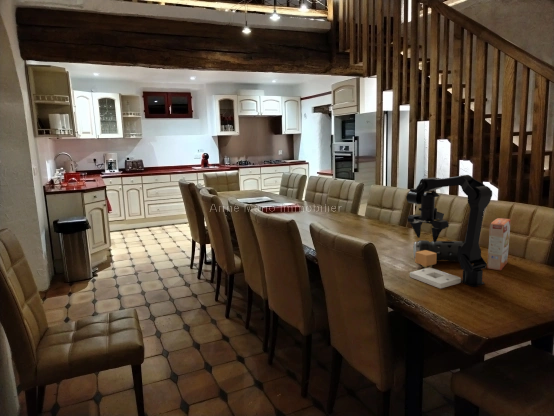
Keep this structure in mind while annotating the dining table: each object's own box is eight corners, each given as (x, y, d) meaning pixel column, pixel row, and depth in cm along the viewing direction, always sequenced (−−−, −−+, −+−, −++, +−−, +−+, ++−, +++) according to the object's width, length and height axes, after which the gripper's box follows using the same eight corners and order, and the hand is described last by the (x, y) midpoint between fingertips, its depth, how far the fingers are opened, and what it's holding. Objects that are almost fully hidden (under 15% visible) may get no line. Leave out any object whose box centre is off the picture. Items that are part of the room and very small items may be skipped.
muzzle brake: (479, 265, 178) (481, 243, 176) (416, 264, 183) (416, 243, 181) (473, 259, 187) (474, 238, 185) (412, 258, 192) (413, 238, 190)
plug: (436, 268, 176) (436, 253, 175) (426, 270, 173) (426, 255, 172) (425, 264, 182) (425, 249, 181) (415, 266, 179) (415, 252, 178)
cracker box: (502, 271, 169) (504, 224, 165) (486, 268, 173) (489, 223, 169) (508, 262, 179) (511, 218, 176) (494, 260, 183) (496, 217, 179)
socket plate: (461, 282, 158) (461, 277, 157) (440, 288, 153) (440, 283, 152) (429, 271, 172) (429, 266, 172) (409, 276, 167) (409, 271, 166)
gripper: (458, 206, 168) (456, 241, 171) (424, 201, 185) (423, 233, 187) (440, 209, 163) (438, 245, 166) (407, 203, 180) (406, 236, 182)
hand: (426, 239), depth 176 cm, fingers open, 9 cm apart
